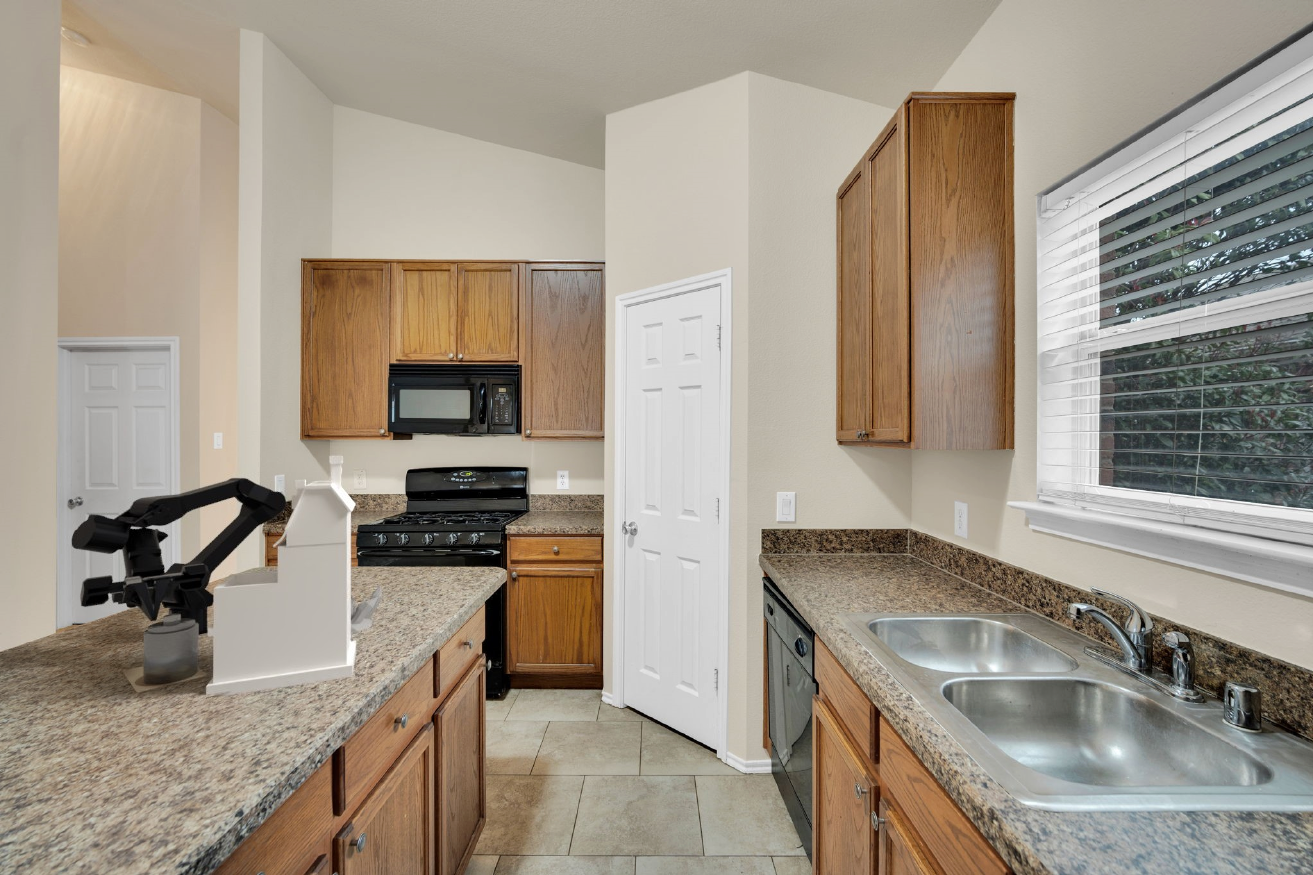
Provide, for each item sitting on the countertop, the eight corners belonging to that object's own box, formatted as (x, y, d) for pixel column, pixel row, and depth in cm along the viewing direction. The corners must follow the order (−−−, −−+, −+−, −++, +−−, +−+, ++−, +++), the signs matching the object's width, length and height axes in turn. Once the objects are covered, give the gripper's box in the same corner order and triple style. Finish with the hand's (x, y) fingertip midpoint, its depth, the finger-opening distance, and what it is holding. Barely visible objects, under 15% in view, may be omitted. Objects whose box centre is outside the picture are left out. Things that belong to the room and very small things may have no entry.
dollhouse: (356, 649, 121) (356, 454, 121) (352, 676, 107) (352, 456, 107) (228, 666, 112) (229, 455, 112) (206, 698, 98) (206, 457, 98)
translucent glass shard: (387, 626, 136) (387, 561, 136) (322, 637, 128) (322, 569, 128) (377, 616, 144) (377, 554, 144) (315, 626, 136) (315, 561, 136)
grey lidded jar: (192, 664, 111) (193, 607, 111) (203, 675, 106) (203, 614, 106) (139, 676, 105) (140, 616, 105) (147, 688, 100) (148, 624, 100)
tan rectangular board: (187, 659, 115) (187, 656, 115) (206, 678, 106) (206, 674, 106) (122, 674, 108) (122, 670, 108) (137, 696, 99) (137, 692, 99)
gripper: (191, 571, 130) (205, 631, 123) (74, 587, 116) (81, 656, 109) (202, 539, 126) (216, 600, 118) (80, 552, 111) (88, 622, 104)
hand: (154, 619), depth 113 cm, fingers closed
